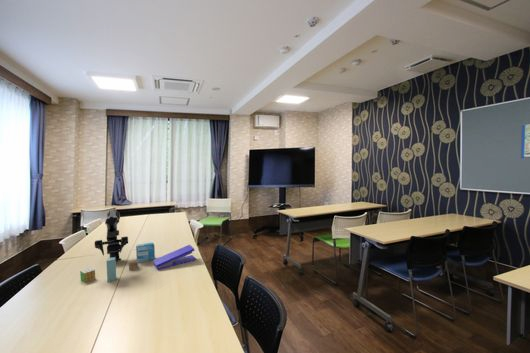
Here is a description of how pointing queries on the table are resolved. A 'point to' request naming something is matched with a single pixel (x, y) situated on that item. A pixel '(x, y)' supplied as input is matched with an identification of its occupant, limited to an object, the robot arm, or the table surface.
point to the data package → (145, 252)
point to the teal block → (111, 269)
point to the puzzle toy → (87, 274)
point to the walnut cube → (133, 264)
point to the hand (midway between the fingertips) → (111, 253)
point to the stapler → (175, 258)
